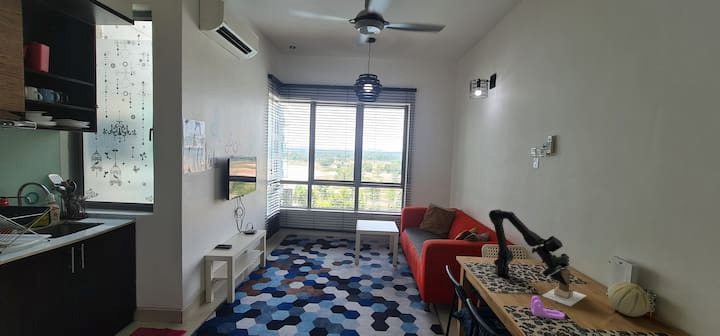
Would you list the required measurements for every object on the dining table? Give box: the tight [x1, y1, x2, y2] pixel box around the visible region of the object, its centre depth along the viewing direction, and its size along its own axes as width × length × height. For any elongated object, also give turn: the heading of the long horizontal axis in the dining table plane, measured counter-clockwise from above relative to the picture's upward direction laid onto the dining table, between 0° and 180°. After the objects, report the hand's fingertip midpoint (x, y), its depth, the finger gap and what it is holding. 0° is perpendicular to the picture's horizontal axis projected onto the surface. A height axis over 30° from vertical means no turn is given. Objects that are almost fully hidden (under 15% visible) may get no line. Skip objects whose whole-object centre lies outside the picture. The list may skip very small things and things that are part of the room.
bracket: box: [530, 295, 566, 320], centre depth 142 cm, size 13×6×7 cm, turn 73°
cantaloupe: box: [607, 281, 651, 318], centre depth 144 cm, size 15×15×15 cm
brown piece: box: [553, 268, 574, 299], centre depth 160 cm, size 7×6×13 cm
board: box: [541, 285, 587, 307], centre depth 160 cm, size 20×13×1 cm, turn 126°
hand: (568, 284), depth 158 cm, fingers closed on brown piece, 4 cm apart
